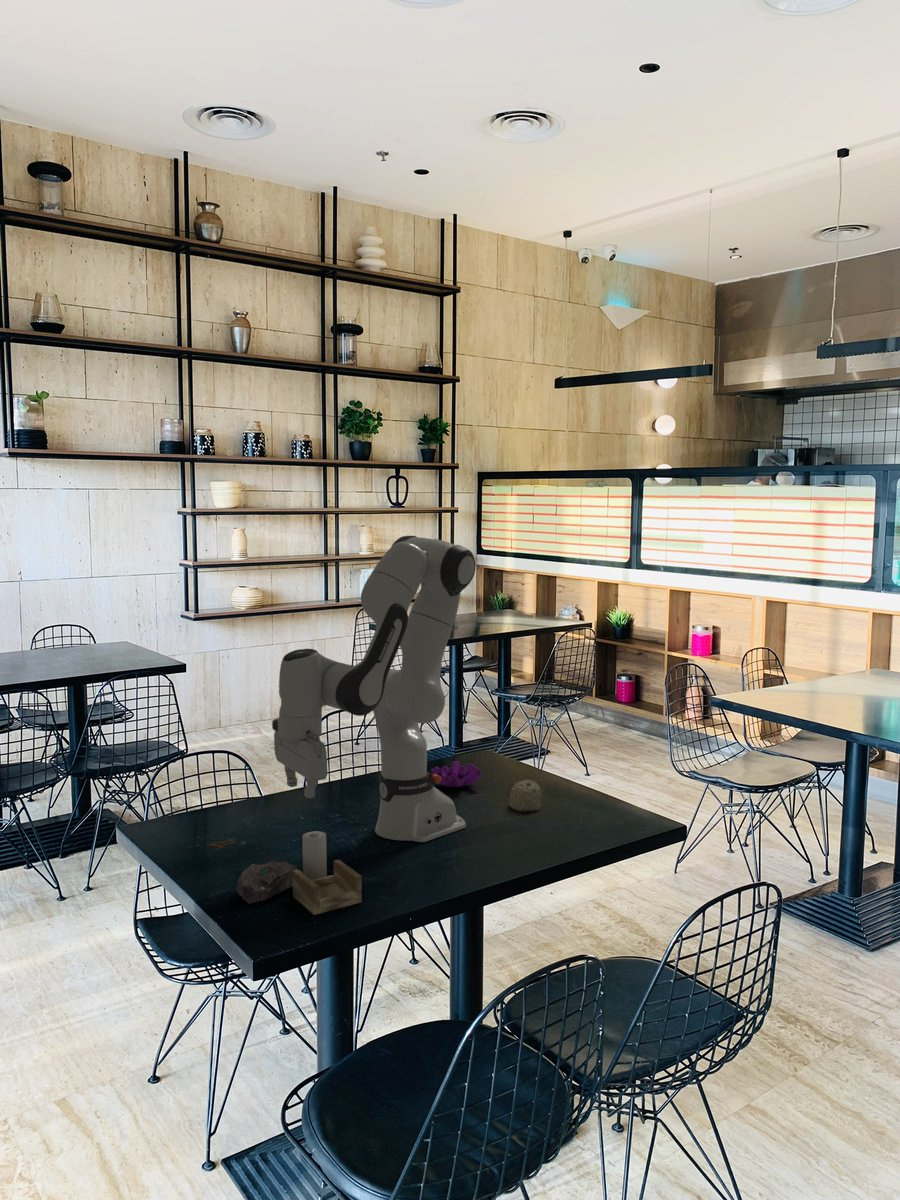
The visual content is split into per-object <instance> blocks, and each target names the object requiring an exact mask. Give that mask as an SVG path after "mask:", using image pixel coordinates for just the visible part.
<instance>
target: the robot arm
mask: <svg viewBox="0 0 900 1200" xmlns="http://www.w3.org/2000/svg"><path fill="white" fill-rule="evenodd" d="M476 565H477V564H476V559H475V556H474V554H473V552H472V551H471V550H469V549H468V548H466V547H464V546H462V545H460V544H454V543H451V542H449V541H445V540H443V539H442V540H441V539H438V538H433V539H432V538H428V537H418V536H416V535H404V536H400V537H399V538H397V539H396V540H395V541H394V542H393V543H392V544H391V547H390V548H389V549H388V550H387V551H386V552H385V553H384V555H383V556H382V557H381V558H380V559H379V561H378V562H377V563H376V565H375V567H374V569H373V570H372V572H371V573H370V575H369V576H368V578H367V580H366V581H365V583H364V586H363V587H362V590H361V593H360V603H361V607H362V608H363V611H364V612H365V614H366V615H367V616H368V618H370V619H371V620H372V621H373V622H374V624H375V630H374V634H373V636H372V638H371V640H370V643H369V645H368V647H367V650H366V652H365V654H364V657H363V658H362V660H361V661H359V663H357V664H354V665H353V664H347V663H344V662H338V661H336V660H333V659H330V658H329V657H326V656H325V655H323V654H320V652H318V650H316V649H313V648H302V649H301V648H300V649H299V648H298V649H295V650H292V651H290V652H288V653H287V654H285V655H284V656H283V658H282V660H281V663H280V668H279V680H278V681H279V682H278V695H279V698H280V707H279V711H278V717H277V718H275V719H273V720H272V722H271V725H272V726H271V728H272V730H273V731H274V733H273V741H274V742H273V746H274V755H275V758H276V761H277V762H278V763H279V764H281V765H283V766H284V772H285V776H286V785H287V786H288V787H290V788H293V787H294V788H295V787H297V786H298V777H297V776H296V773H297V774H299V775H300V776H302V777H304V778H305V783H306V786H305V788H303V790H304V791H303V792H304V797H306V798H307V799H312V798H313V799H314V798H315V796H316V788H317V786H318V783H319V781H323V780H326V779H327V777H328V757H327V749H326V748H327V747H326V745H325V743H324V742H323V741H321V739H320V736H322V733H323V728H322V727H323V725H322V723H323V722H322V719H323V716H322V715H323V714H322V709H323V707H325V706H327V707H331V708H334V709H339V710H341V711H344V712H346V713H349V714H351V715H353V716H359V717H361V716H366V715H368V714H370V713H372V712H373V716H374V719H375V723H376V728H377V732H378V736H379V742H380V760H381V761H380V763H381V764H380V765H381V766H380V767H381V768H380V770H381V772H380V773H379V797H380V803H379V812H378V818H377V820H376V821H377V822H376V826H375V828H374V832H375V834H376V835H378V836H379V837H382V838H384V839H389V840H393V841H394V840H395V841H412V842H418V843H425V842H428V841H431V840H435V839H436V838H440V837H442V836H446V835H448V834H451V833H455V832H457V831H460V830H462V829H464V828H466V821H465V820H464V818H462V817H461V816H460V815H458V814H457V809H456V806H455V803H454V801H453V800H452V799H451V798H450V797H449V796H448V795H446V794H444V793H443V792H442V791H440V790H439V789H438V788H436V787H435V786H434V784H433V783H435V784H437V785H438V784H440V782H439V781H441V777H440V776H439V775H437V774H433V773H432V772H431V773H430V772H428V767H427V765H428V756H427V755H428V754H427V753H428V750H427V748H428V747H427V741H426V738H425V737H424V734H423V732H422V731H421V729H420V725H419V724H430V723H432V722H434V721H436V720H437V719H438V718H440V716H441V715H442V713H443V711H444V709H445V706H446V704H445V703H446V696H445V693H444V691H443V688H442V685H441V683H442V682H441V674H442V673H441V671H442V662H443V658H444V653H445V652H446V651H445V650H446V647H447V645H448V641H449V638H450V635H451V632H452V630H453V627H454V624H455V621H456V618H457V614H458V610H459V604H460V599H461V592H462V591H463V590H465V589H466V588H467V587H468V585H470V583H471V582H472V580H473V578H474V577H475V572H476ZM419 588H420V589H419ZM418 590H419V592H418V593H417V591H418ZM416 594H417V595H416ZM415 596H416V597H415ZM414 597H415V599H414ZM413 600H414V602H413V604H412V606H411V603H412V601H413ZM410 606H411V609H410V611H409V607H410ZM408 611H409V613H408ZM399 649H400V650H401V654H402V655H401V656H402V657H401V669H400V670H399V669H395V668H391V667H392V665H393V662H394V660H395V658H396V656H397V653H398V651H399Z"/></svg>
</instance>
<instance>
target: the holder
mask: <svg viewBox="0 0 900 1200" xmlns="http://www.w3.org/2000/svg"><path fill="white" fill-rule="evenodd" d="M292 873H293V886H292V897H293V898H294V899H295V900H296V901H297V902H298V903H300V904H301V905H302V906H303V907H304V908H305V909H306V910H307V911H309V912H310V913H311V914H312V915H313V916H316V915H319V914H320V915H321V914H323V913H326V912H330V911H334V910H338V909H341V908H345V907H349V906H352V905H356V904H360V903H363V901H362V900H363V899H362V898H363V897H362V895H363V894H362V892H363V891H362V875H361V874H359V873H358V872H356V871H355V870H354V869H353V868H351V867H350V866H349V865H347V864H346V863H344V861H341V860H340V859H334V860H333V874H332V875H331V874H330V875H327V877H323V878H319V879H314V880H311V879H310V878H308V877H307V876H306V875H304V874H303V871H301V870H300V869H298V868H297V870H293V871H292Z"/></svg>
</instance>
